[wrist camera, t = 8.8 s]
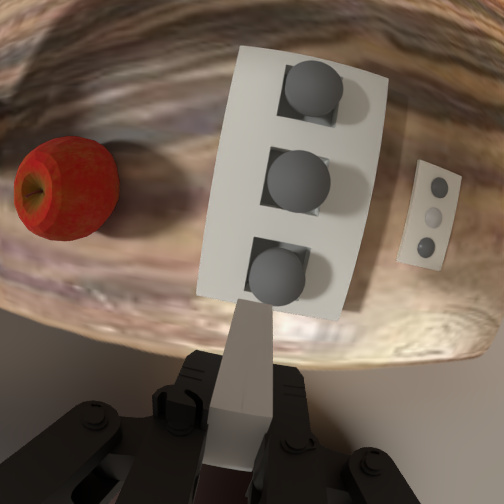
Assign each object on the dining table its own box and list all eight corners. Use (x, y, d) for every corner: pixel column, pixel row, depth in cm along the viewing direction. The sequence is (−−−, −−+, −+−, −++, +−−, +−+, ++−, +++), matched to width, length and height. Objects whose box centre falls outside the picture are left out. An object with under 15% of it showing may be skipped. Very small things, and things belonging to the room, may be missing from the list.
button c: (249, 281, 29) (244, 300, 24) (257, 236, 28) (254, 248, 23) (294, 290, 29) (298, 310, 24) (305, 245, 28) (311, 259, 23)
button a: (279, 117, 25) (281, 104, 20) (287, 74, 24) (290, 55, 19) (328, 128, 25) (339, 117, 20) (334, 85, 24) (346, 68, 19)
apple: (47, 176, 29) (-15, 181, 18) (104, 119, 27) (42, 102, 16) (83, 248, 30) (23, 275, 20) (147, 197, 28) (88, 208, 18)
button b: (264, 201, 26) (262, 206, 21) (273, 151, 24) (273, 144, 20) (314, 211, 25) (323, 218, 21) (324, 161, 24) (335, 157, 20)
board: (202, 284, 30) (195, 295, 27) (243, 57, 24) (240, 45, 21) (332, 308, 30) (338, 321, 27) (378, 87, 24) (388, 78, 21)
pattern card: (395, 260, 28) (398, 262, 27) (417, 159, 25) (421, 159, 25) (437, 269, 28) (441, 272, 27) (458, 176, 25) (463, 176, 24)
